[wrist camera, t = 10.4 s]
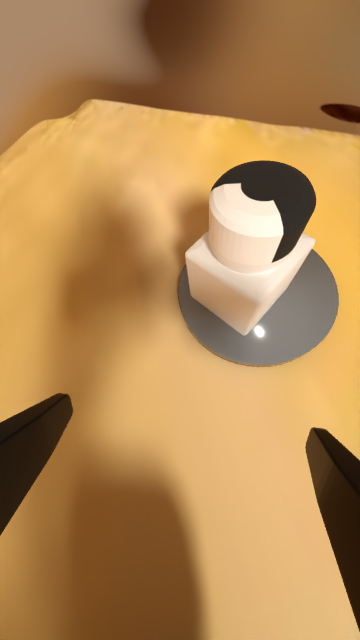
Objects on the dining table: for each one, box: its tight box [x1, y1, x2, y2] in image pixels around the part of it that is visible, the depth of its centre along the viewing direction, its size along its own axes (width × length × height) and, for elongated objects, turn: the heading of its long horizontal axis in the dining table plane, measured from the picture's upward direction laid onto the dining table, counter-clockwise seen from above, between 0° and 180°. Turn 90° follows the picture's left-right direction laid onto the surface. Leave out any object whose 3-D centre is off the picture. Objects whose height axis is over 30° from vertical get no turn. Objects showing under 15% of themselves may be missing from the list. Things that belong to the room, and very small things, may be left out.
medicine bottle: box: [185, 161, 316, 336], centre depth 18 cm, size 7×7×12 cm
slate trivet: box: [178, 249, 339, 367], centre depth 24 cm, size 16×16×2 cm
